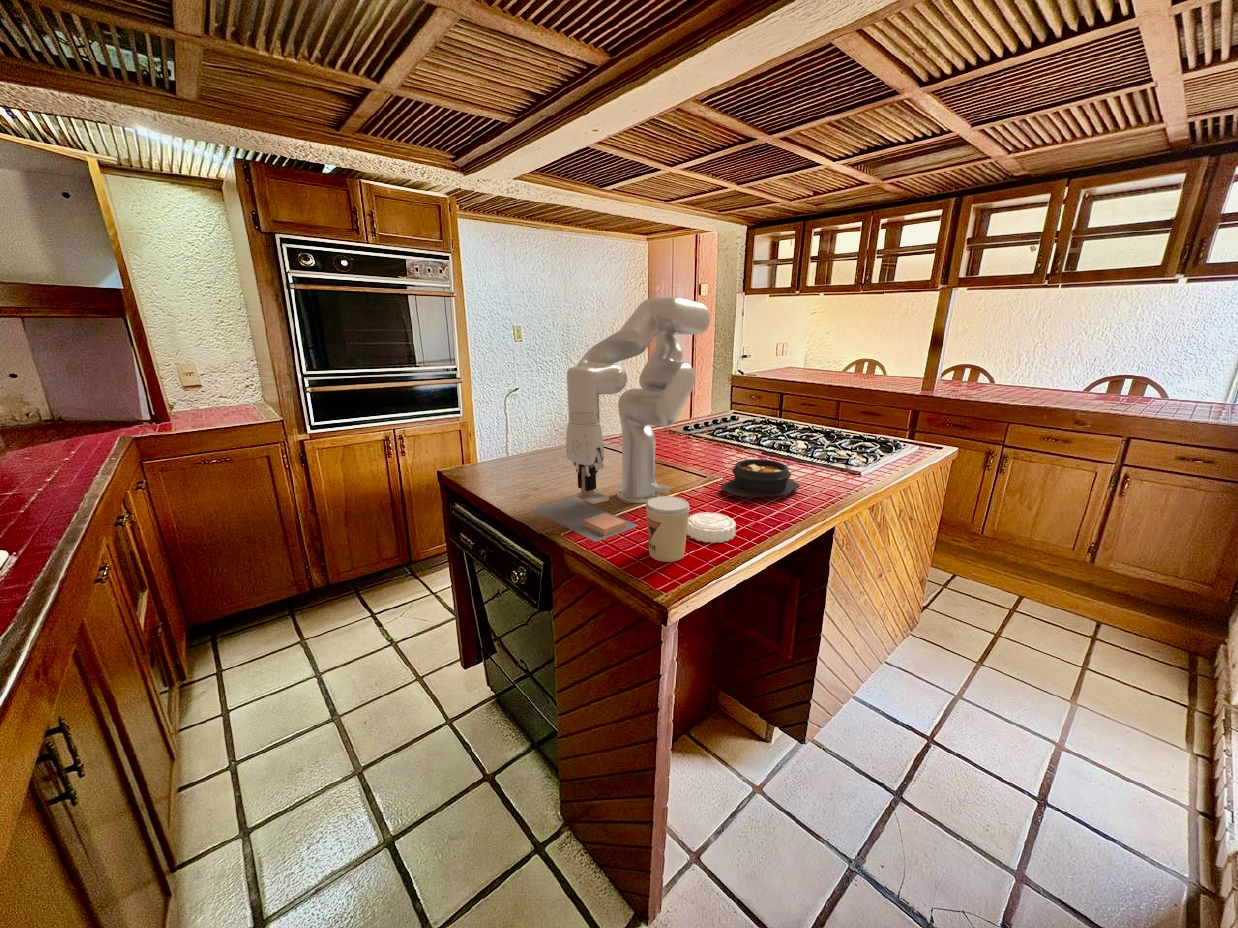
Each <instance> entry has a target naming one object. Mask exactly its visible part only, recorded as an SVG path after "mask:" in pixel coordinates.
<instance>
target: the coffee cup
mask: <svg viewBox="0 0 1238 928" xmlns="http://www.w3.org/2000/svg"><path fill="white" fill-rule="evenodd" d="M645 510H646V523H647V524H646V525H647V537H648V539H647V540H648V552H649V553H648V554H649V556H650V558H652V559H653V560H656V561H658V562H664V563H671V562H673V563H674V562H677V561H680V560H682V559H683V558H684V555H685V553H686V552H685V549H686V541H687V525H688V517H689V516H690V515H689V512H690V504H689V502H688V501H687V500H686V499H684V498H682V497H678V496H674V495H673V496H671V495H660V497H655V498H652V499H650V500H649V501H648V502H647V503H645Z"/></svg>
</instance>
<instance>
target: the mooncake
mask: <svg viewBox="0 0 1238 928" xmlns="http://www.w3.org/2000/svg"><path fill="white" fill-rule="evenodd" d="M736 528H737V524H736V521H735V520H734V519H733V518H731V517H729V516H728V515H726V514H722V513H721V512H720V513H718V512H708V511H705V512H698V513H693V514H692V515H691V514H690V515H688V525H687V534H686V536H689V537H690V538H691V539H695V540H696V541H700V542H703V543H711V544H712V543H713V544H715V543H723V542H729V541H730V540H733V539H734V538H735V537H736Z"/></svg>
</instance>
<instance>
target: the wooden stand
mask: <svg viewBox="0 0 1238 928" xmlns="http://www.w3.org/2000/svg"><path fill="white" fill-rule="evenodd" d="M592 467H593V466H591V467H590V469H591V468H592ZM585 476H586V466H583V467H582V483H581V488H580V490H581V491H580V492H577V493H576V496H575V497H576V498H579V499H580V500H584V501H586V502H588V503H590V504H593V505H595V504H598V503H604V502H607V501H609V500H610V497H609V496H608V495H605V494H602V493H600V492H597V491H595V489H593V490H590V491H586V490H585Z"/></svg>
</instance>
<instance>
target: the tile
mask: <svg viewBox="0 0 1238 928" xmlns="http://www.w3.org/2000/svg"><path fill="white" fill-rule="evenodd" d="M584 526H585V527H587V528H590V529H592V530H594V531H596V532H598V533H600V534H602V535H604V536H605V535H608V534H611V533H614V532H616V531H619V530H622V529H624V528H626V522H625V521H623V520H621V519H618V518H616V517H614V516H611V515H609V514H607V513H603V514H600V515H597V516H594V517H591V518H588V519H585V520H584Z"/></svg>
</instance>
